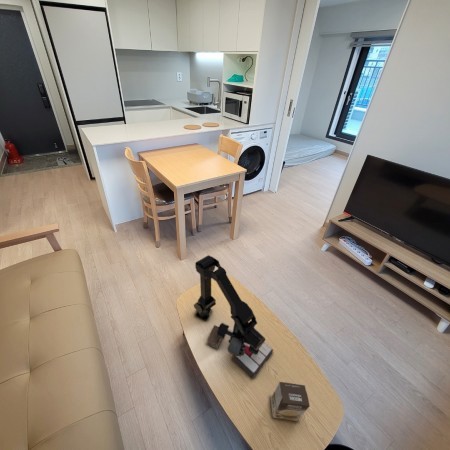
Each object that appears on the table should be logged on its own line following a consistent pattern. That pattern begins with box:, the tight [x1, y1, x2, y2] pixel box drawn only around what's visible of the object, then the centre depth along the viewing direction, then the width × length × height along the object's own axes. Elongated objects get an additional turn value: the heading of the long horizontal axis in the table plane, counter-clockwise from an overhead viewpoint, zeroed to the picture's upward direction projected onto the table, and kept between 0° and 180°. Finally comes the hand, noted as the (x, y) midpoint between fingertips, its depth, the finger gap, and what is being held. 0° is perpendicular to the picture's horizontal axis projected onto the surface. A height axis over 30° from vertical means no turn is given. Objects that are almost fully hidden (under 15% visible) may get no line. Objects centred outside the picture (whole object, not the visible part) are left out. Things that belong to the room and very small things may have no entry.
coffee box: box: [270, 381, 310, 422], centre depth 84 cm, size 9×6×16 cm
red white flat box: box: [232, 342, 274, 379], centre depth 103 cm, size 11×4×15 cm
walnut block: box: [207, 324, 222, 350], centre depth 109 cm, size 5×8×4 cm, turn 155°
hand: (236, 347), depth 106 cm, fingers closed
